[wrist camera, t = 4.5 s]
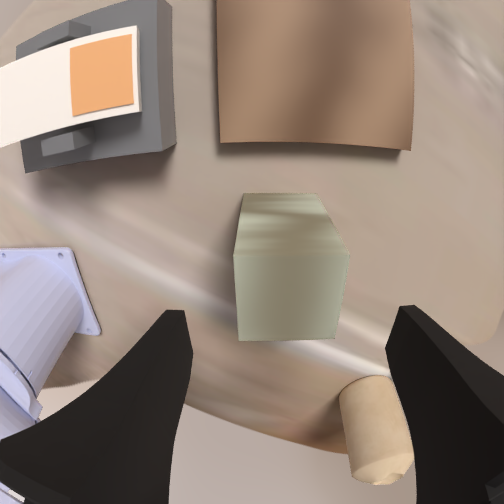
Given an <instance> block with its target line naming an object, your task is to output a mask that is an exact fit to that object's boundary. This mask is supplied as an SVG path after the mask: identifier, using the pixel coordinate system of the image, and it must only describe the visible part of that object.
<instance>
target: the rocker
mask: <svg viewBox="0 0 504 504" xmlns="http://www.w3.org/2000/svg"><path fill="white" fill-rule="evenodd" d="M141 111H142V101H141V81H140V31H139V29H138V27H137V25H136V26H130V27H125V28H120V29H115V30H110V31H105V32H101V33H97V34H93V35H89V36H85V37H82V38H78V39H74V40H71V41H68V42H65V43H61V44H58V45H55V46H52V47H49V48H47V49H44V50H41V51H38V52H36V53H33V54H31V55H28V56H26V57H23V58H21V59H18V60H16V61H14V62H12V63H9V64H7V65H5V66H3V67H1V68H0V148H1V147H4V146H6V145H9V144H12V143H15V142H18V141H21V140H24V139H27V138H30V137H33V136H36V135H39V134H43V133H46V132H49V131H53V130H57V129H60V128H64V127H68V126H72V125H76V124H80V123H84V122H88V121H93V120H98V119H102V118H107V117H112V116H118V115H123V114H129V113H135V112H141Z"/></svg>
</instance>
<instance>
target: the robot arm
mask: <svg viewBox="0 0 504 504" xmlns="http://www.w3.org/2000/svg"><path fill="white" fill-rule="evenodd" d="M61 253H62V254H63V256H62V255H61ZM100 332H101V329H100V326H99V324H98V322H97V319H96V317H95V314H94V312H93V309H92V306H91V304H90V301H89V299H88V296H87V293H86V290H85V288H84V285H83V282H82V279H81V276H80V273H79V270H78V267H77V264H76V261H75V257H74V254H73V252H72V250H71V249H70V248H68V247H48V248H4V249H0V504H168V503H169V484H170V473H171V463H172V454H173V446H174V440H175V435H176V430H177V427H178V423H179V419H180V415H181V412H182V408H183V404H184V400H185V396H186V392H187V388H188V384H189V380H190V374H191V367H192V359H193V350H192V345H191V341H190V336H189V331H188V327H187V322H186V317H185V312H184V310H166V311H165V312H164V313H163V314H162V315H161V316H160V317H159V318H158V319H157V321H156V322H155V323H154V324H153V325H152V326H151V327H150V329H149V330H148V331H147V332H146V333H145V334H144V335H143V336H142V338H141V339H140V340H139V341H138V342H137V343H136V344H135V345H134V346H133V347H132V348H131V350H130V351H129V352H128V353H127V354H126V355H125V356H124V357H123V358H122V359H121V360H120V361H119V362H118V363H117V364H116V365H115V366H114V367H113V368H112V369H111V370H110V371H109V372H108V373H107V374H106V375H104V376H103V377H102V378H101V379H100V380H99V381H98V382H97V383H95V384H94V385H93V386H92V387H91V388H89V389H88V390H87V391H86V392H85V393H83V394H82V395H81V396H79V397H78V398H76V399H75V400H74V401H72V402H71V403H69V404H68V405H66V406H65V407H63V408H62V409H60V410H59V411H57V412H56V413H54V414H52V415H51V416H49V417H47V418H46V419H44V420H42V421H40V419H39V418H38V416H39V414H40V412H41V410H42V406H41V404H40V403H39V402H38V401H37V400H36V399H37V397H38V395H39V393H40V391H41V389H42V387H43V385H44V383H45V382H46V380H47V378H48V376H49V374H50V373H51V371H52V369H53V367H54V365H55V364H56V362H57V360H58V359H59V357H60V355H61V353H62V352H63V350H64V348H65V347H66V345H67V343H68V342H69V340H70V339H71V337H72V335H73V334H74V333H81V334H88V335H96V336H97V335H99V334H100ZM385 350H386V355H387V360H388V364H389V368H390V373H391V376H392V378H393V381H394V384H395V387H396V390H397V393H398V396H399V398H400V401H401V404H402V407H403V410H404V413H405V416H406V419H407V422H408V426H409V430H410V434H411V440H412V446H413V452H414V460H415V469H416V485H417V486H416V487H417V502H416V504H504V376H503V375H502V374H500V373H499V372H497V371H496V370H494V369H493V368H492V367H490V366H488V365H487V364H486V363H484V362H483V361H482V360H480V359H479V358H478V357H477V356H475V355H474V354H473V353H471V352H470V351H469V350H468V349H467V348H465V347H464V346H463V345H462V344H461V343H459V342H458V341H457V340H456V339H455V338H454V337H452V336H451V335H450V334H449V333H448V332H447V331H445V330H444V329H443V328H442V327H441V326H440V325H439V324H437V323H436V322H435V321H434V320H433V319H432V318H430V317H429V316H428V315H427V314H426V313H424V312H423V311H422V310H421V309H419V308H418V307H417V306H415V305H408V306H400V307H399V310H398V313H397V316H396V319H395V322H394V325H393V328H392V330H391V333H390V336H389V339H388V341H387V344H386V347H385ZM10 489H11V490H13V491H14V492H16V493H18V494H19V495H21V496H23V497H24V498H25V500H24V502H22V501H20V500H18V499H17V498H15V497H13V496H12V495H10V494H9V493H7V492H8V491H9V490H10Z"/></svg>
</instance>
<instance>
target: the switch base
mask: <svg viewBox="0 0 504 504" xmlns="http://www.w3.org/2000/svg"><path fill="white" fill-rule="evenodd" d="M136 25H137V27H138V29H139V31H140V81H141V101H142V111H141V112H135V113H129V114H123V115H118V116H112V117H107V118H102V119H98V120H93V121H88V122H84V123H80V124H76V125H72V126H68V127H64V128H60V129H57V130H53V131H49V132H46V133H43V134H39V135H36V136H33V137H30V138H27V139H24V140H21V141H20V142H21V149H22V156H23V162H24V168H25V173H29V172H34V171H38V170H43V169H47V168H52V167H57V166H62V165H67V164H73V163H78V162H84V161H90V160H96V159H102V158H109V157H116V156H123V155H131V154H140V153H149V152H158V151H164V150H165V149H167V148H169V147H171V146H173V145H174V144H176V143H177V142H176V128H175V112H174V93H173V66H172V6H171V5H170V4H169V3H167V2H166V1H165V0H127V1H124V2H120V3H117V4H114V5H110V6H107V7H104V8H101V9H98V10H95V11H93V12H90V13H87V14H84V15H82V16H79V17H77V18H74V19H72V20H68V21H66V22H64V23H61V24H59V25H57V26H55V27H52V28H50V29H48V30H46V31H44V32H42V33H40V34H38V35H37V36H35V37H33V38H31V39H29V40H27V41H25V42H23V43H21V44H20V45H18V46H17V47H16V60H18V59H21V58H23V57H26V56H28V55H31V54H33V53H36V52H38V51H41V50H44V49H47V48H49V47H52V46H55V45H58V44H61V43H65V42H68V41H71V40H74V39H78V38H82V37H85V36H89V35H93V34H97V33H101V32H105V31H110V30H115V29H120V28H125V27H130V26H136Z"/></svg>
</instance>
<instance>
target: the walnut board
mask: <svg viewBox="0 0 504 504" xmlns="http://www.w3.org/2000/svg"><path fill="white" fill-rule="evenodd" d="M217 60H218V94H219V121H220V143H228V142H313V143H334V144H350V145H362V146H373V147H383V148H393V149H401V150H409V151H411V142H412V129H413V111H414V48H413V31H412V19H411V9H410V0H217Z"/></svg>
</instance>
